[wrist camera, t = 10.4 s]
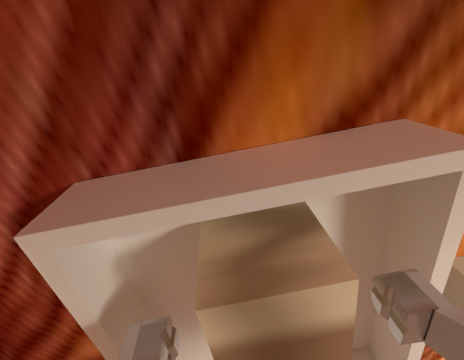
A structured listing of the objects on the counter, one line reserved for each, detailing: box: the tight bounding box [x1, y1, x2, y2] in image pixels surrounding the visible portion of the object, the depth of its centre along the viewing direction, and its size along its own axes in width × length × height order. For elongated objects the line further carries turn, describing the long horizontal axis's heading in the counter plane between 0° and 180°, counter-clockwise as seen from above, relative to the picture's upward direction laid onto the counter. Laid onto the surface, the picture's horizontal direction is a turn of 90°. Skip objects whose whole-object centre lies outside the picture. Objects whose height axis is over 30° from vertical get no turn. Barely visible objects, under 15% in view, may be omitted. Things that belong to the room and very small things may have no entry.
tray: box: [13, 119, 464, 360], centre depth 14 cm, size 16×18×4 cm
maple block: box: [195, 201, 359, 360], centre depth 10 cm, size 5×5×5 cm
